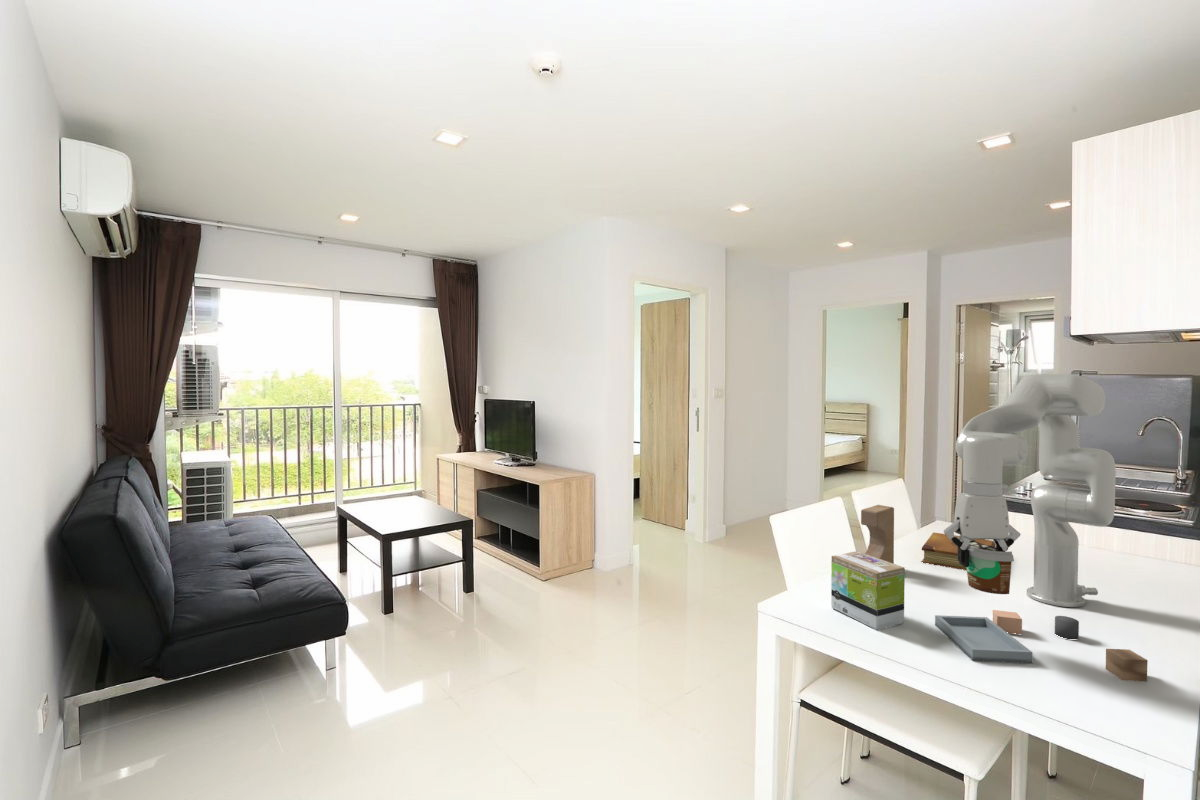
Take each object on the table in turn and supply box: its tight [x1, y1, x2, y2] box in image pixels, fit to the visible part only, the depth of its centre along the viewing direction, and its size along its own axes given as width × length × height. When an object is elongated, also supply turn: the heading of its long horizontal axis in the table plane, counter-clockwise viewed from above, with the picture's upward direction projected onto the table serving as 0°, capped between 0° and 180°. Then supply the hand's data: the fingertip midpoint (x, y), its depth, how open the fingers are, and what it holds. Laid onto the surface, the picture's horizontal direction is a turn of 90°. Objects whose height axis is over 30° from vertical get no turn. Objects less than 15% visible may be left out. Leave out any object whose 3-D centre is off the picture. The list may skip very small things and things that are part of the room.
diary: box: [921, 532, 996, 571], centre depth 192 cm, size 23×19×6 cm
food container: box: [966, 539, 1015, 595], centre depth 132 cm, size 12×6×10 cm, turn 5°
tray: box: [934, 615, 1034, 664], centre depth 132 cm, size 12×18×2 cm, turn 172°
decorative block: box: [860, 504, 895, 564], centre depth 182 cm, size 11×6×20 cm, turn 126°
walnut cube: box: [1105, 648, 1148, 682], centre depth 117 cm, size 4×4×4 cm
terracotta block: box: [992, 609, 1023, 635], centre depth 139 cm, size 5×4×4 cm
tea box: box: [830, 550, 906, 631], centre depth 148 cm, size 15×10×15 cm, turn 23°
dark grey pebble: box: [1054, 615, 1080, 640], centre depth 135 cm, size 4×4×4 cm
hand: (981, 565), depth 132 cm, fingers closed on food container, 6 cm apart
